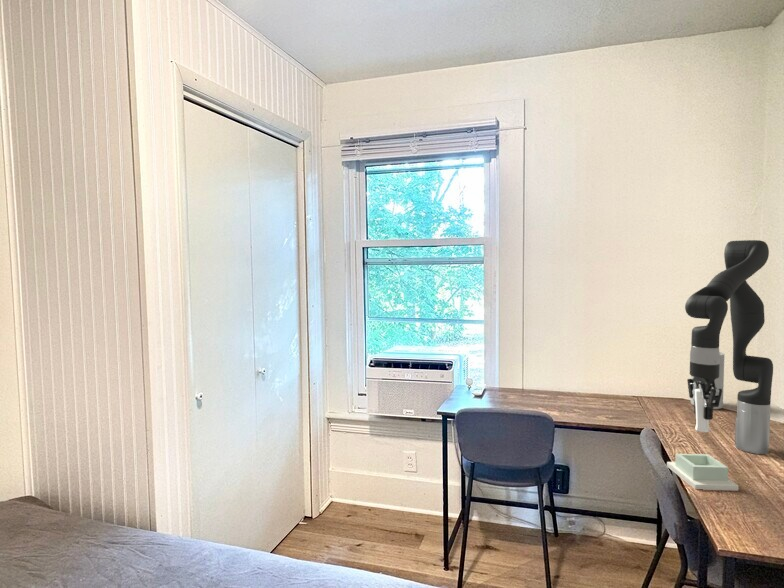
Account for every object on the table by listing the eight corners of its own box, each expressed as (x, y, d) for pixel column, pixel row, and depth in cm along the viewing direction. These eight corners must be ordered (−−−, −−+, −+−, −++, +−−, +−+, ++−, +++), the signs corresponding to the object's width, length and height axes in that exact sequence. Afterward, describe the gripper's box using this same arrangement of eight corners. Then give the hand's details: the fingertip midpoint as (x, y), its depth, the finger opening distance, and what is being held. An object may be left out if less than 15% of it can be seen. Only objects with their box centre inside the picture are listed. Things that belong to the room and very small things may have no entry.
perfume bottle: (712, 429, 142) (713, 381, 142) (710, 433, 139) (711, 384, 138) (694, 426, 145) (695, 379, 145) (692, 430, 142) (693, 381, 141)
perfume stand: (666, 466, 151) (667, 449, 151) (705, 467, 150) (705, 450, 150) (695, 489, 135) (695, 471, 135) (738, 490, 135) (738, 472, 134)
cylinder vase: (687, 405, 216) (688, 352, 215) (694, 400, 225) (695, 349, 224) (719, 411, 207) (721, 356, 206) (725, 405, 216) (727, 352, 215)
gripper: (733, 366, 133) (731, 424, 134) (703, 356, 148) (701, 409, 149) (705, 366, 134) (704, 424, 135) (678, 356, 148) (677, 409, 149)
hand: (702, 416), depth 142 cm, fingers closed on perfume bottle, 4 cm apart
